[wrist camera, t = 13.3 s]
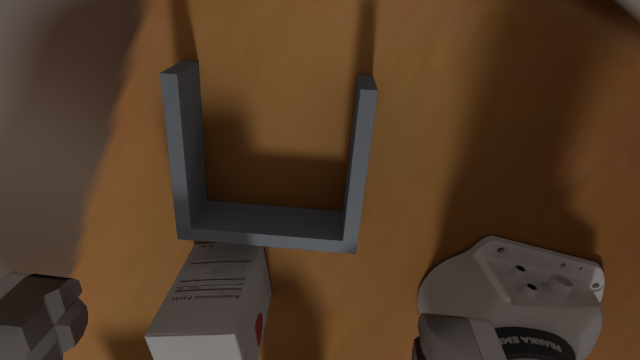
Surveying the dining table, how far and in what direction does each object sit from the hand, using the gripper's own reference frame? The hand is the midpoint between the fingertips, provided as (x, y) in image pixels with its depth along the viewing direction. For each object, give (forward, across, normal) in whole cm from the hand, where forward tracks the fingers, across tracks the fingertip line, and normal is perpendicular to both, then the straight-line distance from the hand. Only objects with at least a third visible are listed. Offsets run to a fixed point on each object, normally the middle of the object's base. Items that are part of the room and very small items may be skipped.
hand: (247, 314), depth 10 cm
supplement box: (+34, +10, +27) cm, 45 cm away
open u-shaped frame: (+34, +5, +9) cm, 35 cm away
